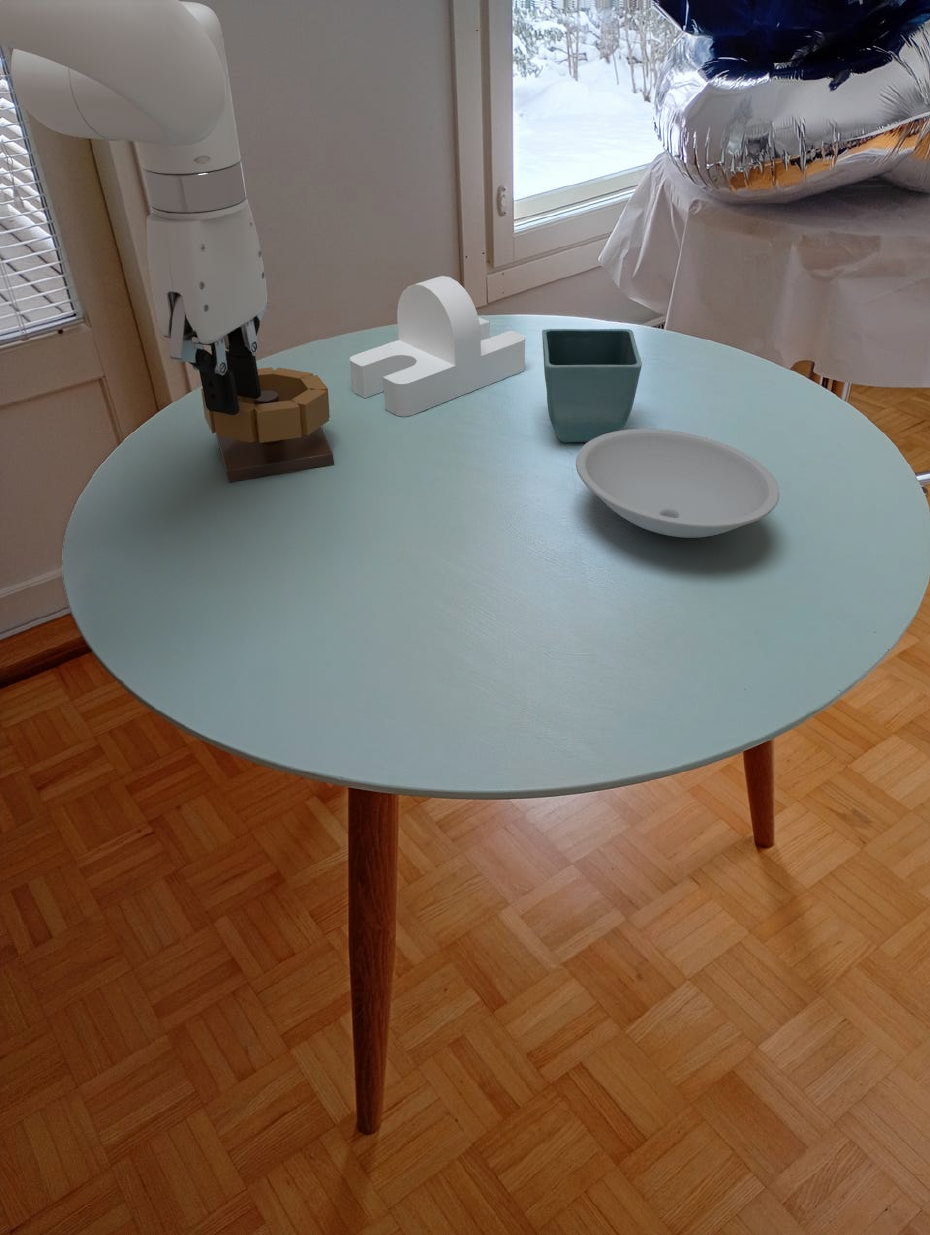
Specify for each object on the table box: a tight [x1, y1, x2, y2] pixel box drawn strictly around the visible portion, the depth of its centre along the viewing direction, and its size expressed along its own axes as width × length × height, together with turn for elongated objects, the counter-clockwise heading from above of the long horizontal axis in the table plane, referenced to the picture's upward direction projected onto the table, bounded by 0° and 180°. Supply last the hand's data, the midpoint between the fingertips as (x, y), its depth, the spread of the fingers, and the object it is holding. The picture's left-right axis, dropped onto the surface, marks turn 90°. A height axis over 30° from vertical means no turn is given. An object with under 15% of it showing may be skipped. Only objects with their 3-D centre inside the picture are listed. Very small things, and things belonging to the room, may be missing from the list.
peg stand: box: [216, 390, 335, 483], centre depth 94 cm, size 10×10×6 cm
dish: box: [575, 428, 780, 539], centre depth 83 cm, size 18×14×5 cm
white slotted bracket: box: [349, 275, 526, 418], centre depth 105 cm, size 10×18×11 cm, turn 131°
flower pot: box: [541, 328, 643, 443], centre depth 95 cm, size 9×9×9 cm
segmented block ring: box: [200, 367, 331, 443], centre depth 93 cm, size 11×11×3 cm
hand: (234, 401), depth 88 cm, fingers closed
